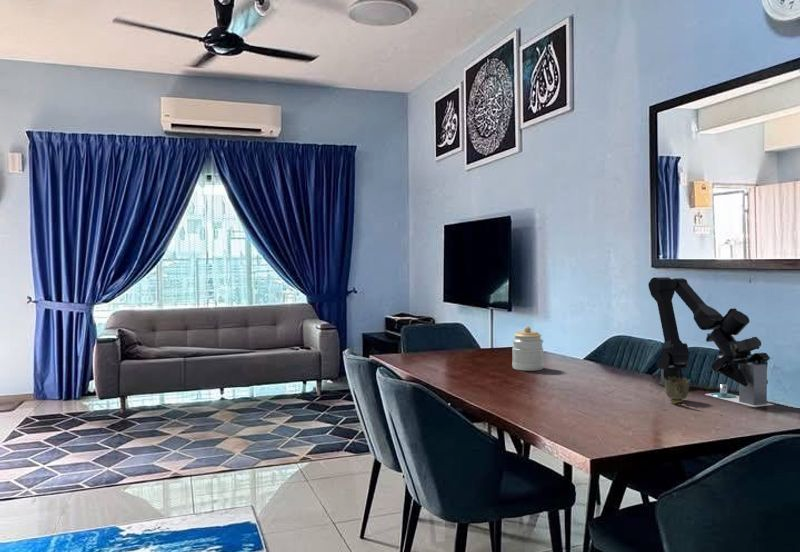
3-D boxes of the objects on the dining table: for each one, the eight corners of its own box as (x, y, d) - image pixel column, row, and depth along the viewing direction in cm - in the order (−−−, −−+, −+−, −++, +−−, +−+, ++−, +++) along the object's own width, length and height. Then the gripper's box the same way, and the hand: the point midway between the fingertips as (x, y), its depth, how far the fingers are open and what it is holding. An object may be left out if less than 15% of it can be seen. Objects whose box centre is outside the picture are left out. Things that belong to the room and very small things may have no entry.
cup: (678, 407, 188) (678, 381, 188) (658, 402, 195) (658, 377, 195) (695, 404, 192) (695, 379, 192) (674, 400, 198) (674, 375, 198)
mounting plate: (704, 397, 202) (704, 394, 202) (723, 395, 205) (723, 392, 205) (754, 410, 184) (754, 406, 184) (774, 407, 187) (774, 404, 187)
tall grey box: (739, 401, 191) (739, 363, 191) (752, 400, 192) (752, 362, 192) (753, 405, 186) (753, 365, 186) (766, 404, 188) (766, 364, 187)
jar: (546, 371, 253) (546, 328, 253) (515, 371, 253) (514, 328, 253) (539, 365, 266) (539, 325, 266) (509, 366, 266) (509, 325, 266)
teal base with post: (706, 397, 202) (706, 383, 202) (723, 395, 204) (723, 382, 204) (724, 402, 195) (724, 387, 195) (741, 400, 197) (741, 386, 197)
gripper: (718, 329, 189) (749, 371, 179) (764, 327, 195) (797, 367, 185) (698, 351, 197) (727, 392, 187) (743, 348, 203) (773, 388, 193)
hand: (756, 384), depth 188 cm, fingers open, 8 cm apart
